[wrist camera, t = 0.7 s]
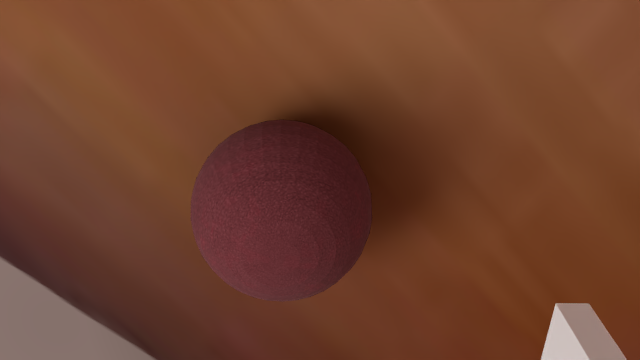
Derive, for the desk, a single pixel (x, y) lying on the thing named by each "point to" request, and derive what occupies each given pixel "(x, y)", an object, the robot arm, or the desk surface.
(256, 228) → the decorative ball
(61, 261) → the desk surface
